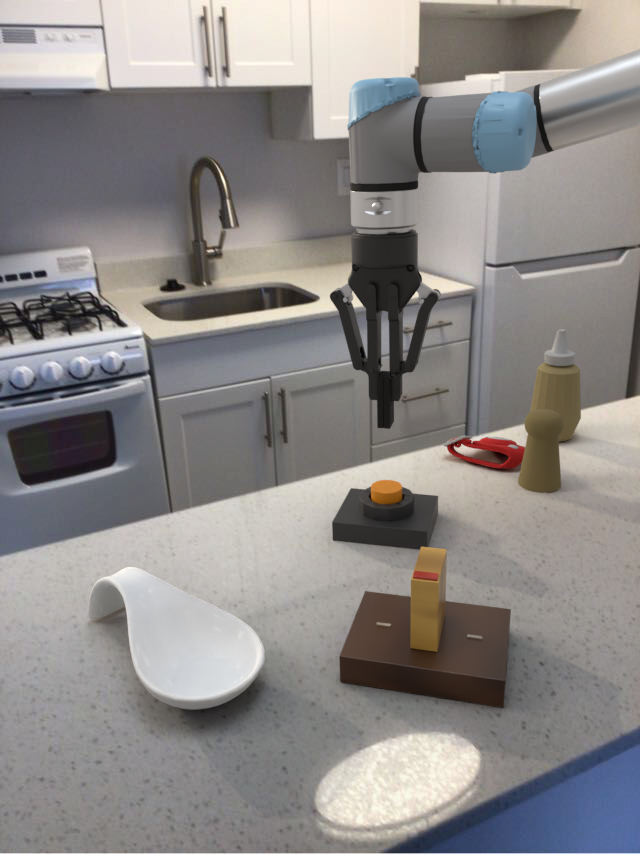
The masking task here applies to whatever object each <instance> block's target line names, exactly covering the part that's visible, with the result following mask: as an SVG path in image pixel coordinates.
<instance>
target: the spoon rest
mask: <svg viewBox="0 0 640 854" xmlns="http://www.w3.org/2000/svg"><path fill="white" fill-rule="evenodd" d="M124 607H125V612H126V618H127V619H126V622H127V634H128V635H127V636H128V645H129V650H130V651H129V652H130V657H131V660H132V664H133V668H134V670H135V673H136V675H137V677H138V679H139V681H140V682H141V684H142V685H143V687H144V688H145V690H146V691H147V692H148V693H149V694H151V696H152V697H154V698H155V699H157V700H158V701H160V702H162V703H163V704H165V705H168V706H171V707H174V708H176V709H183V710H205V709H211V708H214V707H218V706H221V705H223V704H226V703H227V702H230V701H231V700H233V699H235V698H236V697H239V695H240V694H242V693H243V692H244V691H246V690H247V689H248V688H250V686H251V685H252V683H253V682H254V681H255V680H256V679H257V677H258V676H259V675H260V674H261V671H262V670H263V667H264V664H265V660H266V651H265V646H264V644H263V641H262V639H261V637H260V636H259V635H258V633H257V632H256V631H255V630H254V629H253V628H252V627H251V626H250V625H249V624H248V623H246V622H245V621H243V620H242V619H240V618H239V617H237V616H235V615H234V614H232V613H230V612H227V611H226V610H224V609H221V608H220V607H217V606H216V605H214V604H211V603H210V602H208V601H205V600H203V599H201V598H199V597H197V596H195V595H193V594H191V593H189V592H186V591H185V590H184V589H183V590H182V589H180V588H179V587H176V586H175V585H172V584H170V583H169V582H167V581H165V580H163V579H162V578H159V577H157V576H155V575H154V574H152V573H150V572H148V571H146V570H144V569H142V568H139V567H136V566H127V567H123V568H122V569H120V570H119V571H117V572H115V573H114V574H111V575H108V576H103V577H101V578H99V579H98V580H97V581H96V582H95V583H94V585H93V586H92V589H91V590H90V593H89V597H88V603H87V617H88V618H89V620H98V619H102V618H104V617H107V616H109V615H111V614H113V613H114V612H116V611H118V610H121V609H123V608H124Z"/></svg>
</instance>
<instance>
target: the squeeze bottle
mask: <svg viewBox="0 0 640 854" xmlns="http://www.w3.org/2000/svg"><path fill="white" fill-rule="evenodd" d="M543 357H544V359H543V361H544V362H542V363H541V364H539V366H537V369H536V376H535V381H534V387H533V392H532V398H531V403H530V409H529V413H530V412H531V411H534V410H539V409H546V410H552V411H555V412H557V413H559V414H560V415H561V417H562V419H563V429H562V432H561V433H560V435H559V436H558V441H559V443H560V442H567V441H569V440H571V439H572V438H573V436H574V433H575V431H576V430H577V428H578V425H579V423H580V421H581V419H582V408H581V407H582V405H581V404H582V403H581V399H582V398H581V369H580V367H579V366H578V365H577V364H575V363H576V362H575V361H576V353H575V351H573V350H570V349H569V345H568V337H567V330H566V329H565V328H564V329H562V328H560V329H557V331H556V335H555V337H554V341H553V344H552V348H551V349H546V351H545V352H544V356H543Z"/></svg>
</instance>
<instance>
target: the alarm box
mask: <svg viewBox="0 0 640 854" xmlns="http://www.w3.org/2000/svg"><path fill="white" fill-rule="evenodd" d="M346 494H347V495H346V496H345V498H344V499H343V501H342V503H341V505H340V507H339V509H338V511H337V513H336V514H335V515H334V518H333V519H332V522H331V526H332V528H331V529H332V541H334V542H344V543H351V544H352V543H354V544H361V545H370V546H371V545H372V546H379V547H381V546H382V547H390V548H399V549H400V548H401V549H407V550H408V549H409V550H419V551H420V548H421V547H429V546H430V542H431V538H432V535H433V531H434V528H435V524H436V522H437V518H438V515H439V495H433V494H425V493H424V494H422V493H414V492H412V490H411V489H409V488H406V487H405V486H402V501H400V502H398V503H394V504H378V503H376V502H373V501H372V500H371V486H369V487H367V488H365V489H364V488H354V487H351V488H350V489H349V490H348V493H346Z"/></svg>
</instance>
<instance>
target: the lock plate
mask: <svg viewBox="0 0 640 854" xmlns="http://www.w3.org/2000/svg"><path fill="white" fill-rule="evenodd" d="M511 612H512V609H511V608H505V607H497V606H490V605H489V606H488V605H483V604H482V605H481V604H473V603H472V604H471V603H464V602H458V601H457V602H456V601H449V600H446V605H445V618H444V623H443V627H442V632H441V637H440V641H439V646H438V651H437V652H434V651H427V650H420V649H413V648H411V596H409V595H400V594H392V593H383V592H378V591H377V592H376V591H369V590H365V591H364V593H363V595H362V598H361V600H360V603H359V605H358V608H357V610H356V614H355V615H354V618H353V620H352V623H351V625H350V628H349V630H348V633H347V636H346V639H345V641H344V643H343V645H342V648H341V651H340V654H339V656H338V657H339V658H338V659H339V681H340V683H345V684H350V685H357V686H364V687H371V688H377V689H383V690H390V691H395V692H402V693H409V694H414V695H421V696H426V697H434V698H439V699H445V700H451V701H452V700H453V701H459V702H463V703H465V702H466V703H470V704H477V705H483V706H491V707H497V708H502V709H503V708H504V707H505V696H506V695H505V694H506V680H507V670H508V669H507V667H508V658H509V657H508V656H509V645H510V643H509V642H510V630H511V614H512V613H511Z"/></svg>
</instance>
